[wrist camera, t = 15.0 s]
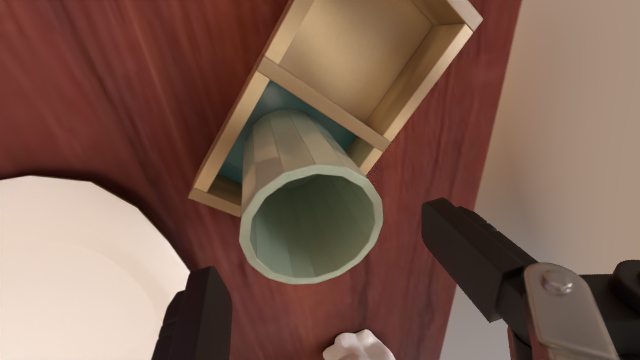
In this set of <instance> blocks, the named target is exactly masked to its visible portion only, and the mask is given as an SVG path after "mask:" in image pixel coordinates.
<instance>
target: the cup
mask: <svg viewBox="0 0 640 360" xmlns="http://www.w3.org/2000/svg"><path fill="white" fill-rule="evenodd" d="M382 224H383V212H382V200H381V198H380V196H379V195H378V193H377V192H376V190H375V189H374V187H373V185H372V184H371V182H370V181H369V180H368V178H367V177H366V176H365V175H364V174H363V172H362V171H361V170H360V169H359V168H358V167H357V165H356V164H355V163H354V162H353V161H352V159H351V158H350V157H349V156H348V155H347V154H346V152H345V151H344V150H343V149H342V148H341V147H340V145H339V144H338V143H337V142H336V141H335V139H334V138H333V137H332V136H331V135H330V134H329V132H328V131H327V130H326V129H325V128H324V126H323V125H322V124H321V123H320V122H319V121H317V120H316V119H315V118H314V117H312V116H311V115H309V114H307V113H305V112H302V111H299V110H293V109H282V110H276V111H273V112H270V113H268V114H266V115H264V116H263V117H261V118H260V119H259V120H258V121H256V122H255V123H254V125H253V126H252V127H251V128H250V130H249V131H248V133H247V136H246V138H245V141H244V147H243V161H242V184H241V207H240V230H239V243H240V245H241V247H242V250H243V252H244V254H245V256H246V259H247V261H248V263H249V264H250V265H251V266H253V267H254V268H255V269H256V270H258V271H259V272H260V273H262V274H263V275H264V276H265V277H267V278H270V279H273V280H277V281H280V282H284V283H287V284H313V283H318V282H321V281H324V280H327V279H330V278H333V277H336V276H339V275H341V274H342V273H344V272H345V271H347V270H348V269H350V268H352V267H353V266H355V265H356V264H358V263H359V262H360V261H361V260H362V259H363V258H364V257H365V255H366V254H367V253H368V252H369V251H370V249H371V248H372V247H373V246H374V245H375V243H376V241H377V238H378V235H379V232H380V230H381V227H382Z"/></svg>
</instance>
